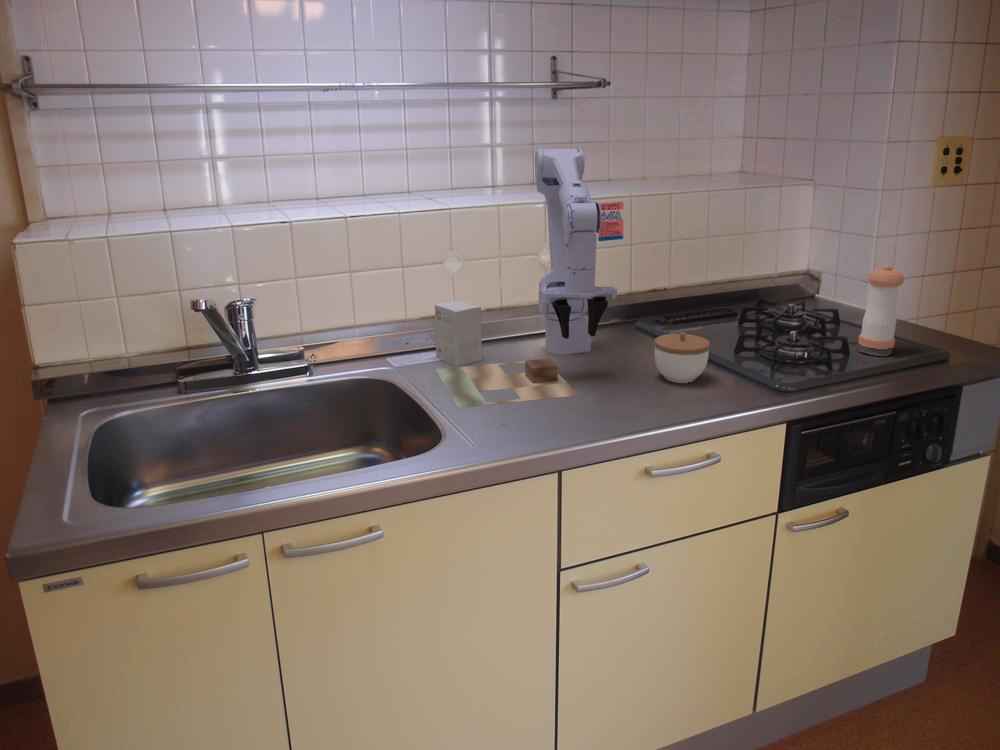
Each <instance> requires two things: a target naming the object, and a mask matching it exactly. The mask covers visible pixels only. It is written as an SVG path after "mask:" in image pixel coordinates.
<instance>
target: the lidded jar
mask: <svg viewBox="0 0 1000 750" xmlns="http://www.w3.org/2000/svg"><path fill="white" fill-rule="evenodd" d="M710 348H711V342H710V340H708V339H707V338H705V337H702V336H699V335H693V334H689V333H686V332H680V333H668V334H664V335H663V334H662V335H659V336H657V337H656V338H655V340H654V360H655V361H654V362H655V365H656V368H657V369H658V372H659V373H660V374H661V375H662V376H663V378H664V379H665V380H666V381H668V382H670V381H671V383H675V382H676V383H677V384H688V382H690V383H693V382H695V381H696V379H697V378H698V377H699V376H700V375H702V373H703V372H704V371H705V369H706V367H707V364H708V360H709V353H710ZM694 380H695V381H694ZM692 381H693V382H692Z"/></svg>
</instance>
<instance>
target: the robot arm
mask: <svg viewBox="0 0 1000 750" xmlns="http://www.w3.org/2000/svg"><path fill="white" fill-rule="evenodd" d="M585 160H586V158H585V152H584V150H582V148H581V147H577V148H573V147H572V148H541V147H538V148H537V150H536V151H535V154H534V177H535V187H536V191H537V192H538V193H540V194H542V195H544V199H545V204H546V208H547V225H548V227H547V228H548V241H549V243H548V244H549V258H550V259H549V260H550V262H549V263H550V271H549V272H548V273H547V274H545V275H544V276H543V277H541V279H540V281H539V284H538V308H539V309H538V310H539V312H540V314H541V316H545V339H544V340H545V342H544V343H545V351H546V352H547V353H548V354H552V355H559V356H560V355H561V356H565V355H573V354H579V353H581V354H582V353H590V352H591V349H592V337H596V334H597V330H598V327H599V324H600V321H601V319H602V316H603V315H604V313H605V311H606V309H607V308H608V306H609V301H608V300H607V299H609V298H610V299H617V298H618V297H617V295H618V288H616V287H614V286H596V267H597V265H596V264H597V263H596V262H597V261H596V260H597V234H599V233H600V231H601V226H602V209H601V206H600V203H599V201H596V200H592V196H591V194H590V191H589V189H588V187H587V185H586V183H585V182H583V181H582V179H583V175H584V173H585V166H586V165H585V162H586V161H585ZM587 310H588V314H585V313H586V312H587Z"/></svg>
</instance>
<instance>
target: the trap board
mask: <svg viewBox="0 0 1000 750" xmlns="http://www.w3.org/2000/svg"><path fill="white" fill-rule="evenodd" d="M525 361H526V360H524V361H523V360H522V361H512V362H500V363H498V362H497V363H488V364H487V363H486V364H479V365H467V366H466V365H463V366H454V367H453V366H452V367H444V368H434V370H435V372H436V374H437V375H438V377H439V379H440V380H441V382H442V384H443V385H444V388H446V391H447V392H448V393H449V395H450V397H451V398H452V400H453V402H454V403H455V405H456V407H457V408H458V409H460V408H471V407H480V406H490V405H497V404H508V403H519V402H531V401H535V400H536V401H538V400H548V399H549V400H550V399H555V398H556V399H557V398H567V397H578V396H579V397H580V396H581V395H580V394H579V393H578V391H577V390H576V389H575V388H573V387H572V386H571V385H570V383H568V382H567V380H565V379H564V377H562V376H561V375H560V374H559V373H558V381H552V382H542V383H532V382H531V381H530V380H529V379H528V378H527V376H526V375H525V372H517V373H506V372H505V371H504V370H503V368H501V366H505V365H513V364H514V365H516V364H517V365H518V364H525ZM510 389H512V390H513V391H514V392H515V393H516V394H517V396H518V397H519V398H518V399H517V398H516V399H509V400H507V399H506V400H501V401H489V402H487V401H486V400H485V398H484V396H483V395H482V394H481V392H489V391H490V392H491V391H499V390H510Z"/></svg>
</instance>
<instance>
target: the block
mask: <svg viewBox="0 0 1000 750" xmlns="http://www.w3.org/2000/svg"><path fill="white" fill-rule="evenodd" d="M524 361H525V363H524V364H525V365H524V367H525V368H524V369H525V370H524V371H525V372H524V373H525V375H526V376H527V378H528V379H529V380H530V381H531V382H532V383H542V382H552V381H558V374H559V368H558V367H559V366H558V365H557V364H556V363H555V362H554V361H553V360H551V358H541V359H540V358H539V359H529V360H524Z"/></svg>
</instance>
